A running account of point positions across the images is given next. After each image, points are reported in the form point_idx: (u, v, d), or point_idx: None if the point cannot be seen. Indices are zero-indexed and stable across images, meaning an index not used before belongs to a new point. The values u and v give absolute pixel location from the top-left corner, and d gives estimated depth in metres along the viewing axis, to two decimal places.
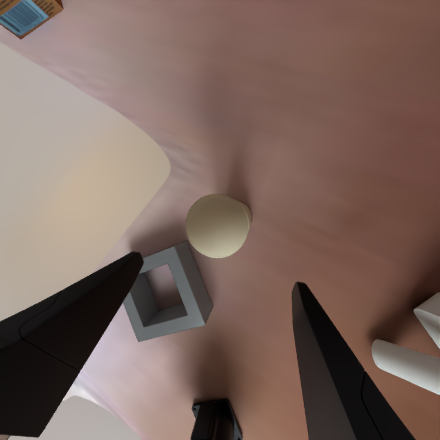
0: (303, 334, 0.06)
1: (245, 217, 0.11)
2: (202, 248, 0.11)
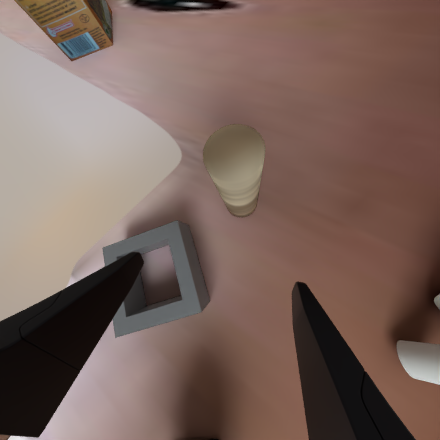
0: (303, 334, 0.06)
1: (262, 142, 0.11)
2: (218, 172, 0.11)
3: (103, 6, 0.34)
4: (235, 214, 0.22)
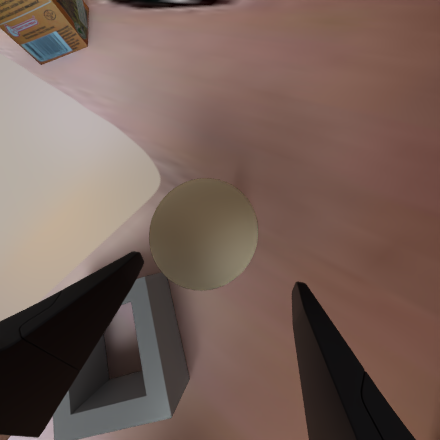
0: (303, 334, 0.06)
1: (253, 217, 0.06)
2: (172, 269, 0.06)
3: (76, 2, 0.30)
4: None
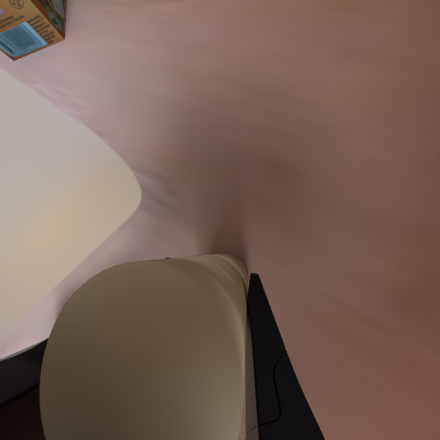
0: (247, 320, 0.07)
1: (234, 360, 0.03)
2: None
3: None
4: None
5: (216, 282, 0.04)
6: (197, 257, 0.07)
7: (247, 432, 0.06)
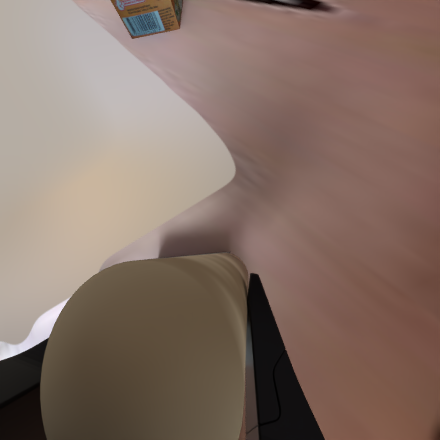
0: (247, 320, 0.07)
1: (235, 358, 0.03)
2: None
3: None
4: None
5: (217, 281, 0.04)
6: (197, 256, 0.07)
7: (247, 432, 0.06)
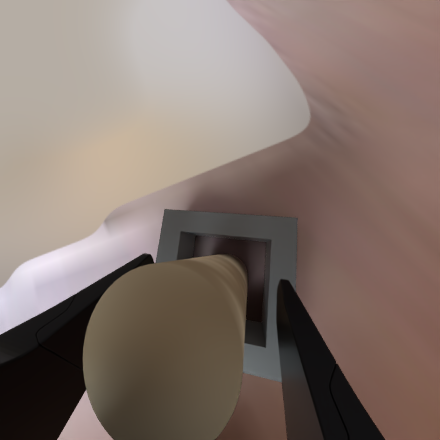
0: (283, 329, 0.07)
1: (236, 338, 0.04)
2: (112, 415, 0.04)
3: None
4: None
5: (221, 279, 0.05)
6: (203, 258, 0.07)
7: None
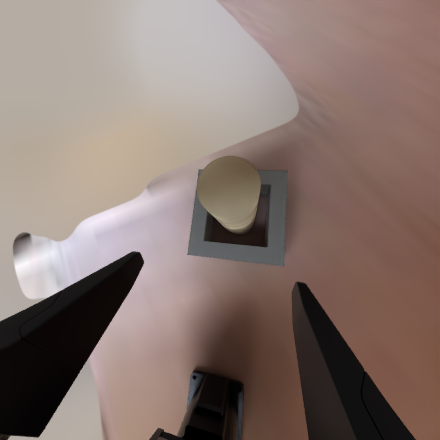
0: (303, 334, 0.06)
1: (258, 176, 0.11)
2: (212, 207, 0.11)
3: None
4: (232, 233, 0.22)
5: None
6: None
7: None
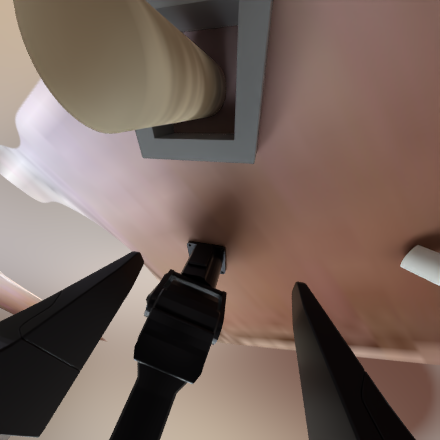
0: (303, 334, 0.06)
1: (129, 16, 0.04)
2: (84, 116, 0.06)
3: None
4: None
5: None
6: None
7: None
